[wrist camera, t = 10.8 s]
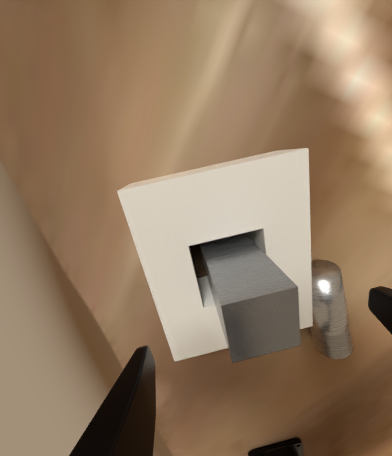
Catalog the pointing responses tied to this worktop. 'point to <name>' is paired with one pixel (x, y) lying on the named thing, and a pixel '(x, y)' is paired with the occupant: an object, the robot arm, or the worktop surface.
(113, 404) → the robot arm
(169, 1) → the worktop surface
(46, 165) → the worktop surface
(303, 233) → the socket block
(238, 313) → the square bit
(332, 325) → the round bit
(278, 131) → the worktop surface
